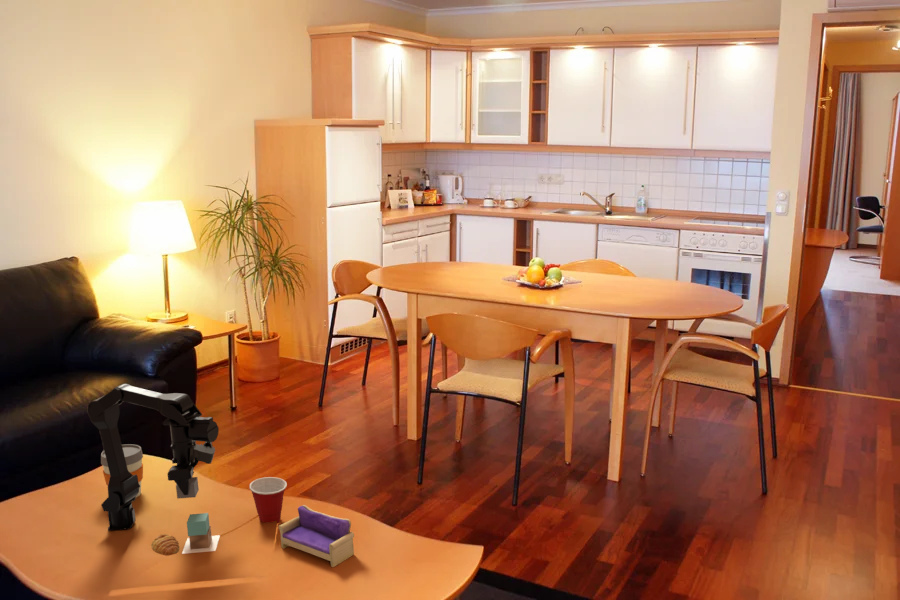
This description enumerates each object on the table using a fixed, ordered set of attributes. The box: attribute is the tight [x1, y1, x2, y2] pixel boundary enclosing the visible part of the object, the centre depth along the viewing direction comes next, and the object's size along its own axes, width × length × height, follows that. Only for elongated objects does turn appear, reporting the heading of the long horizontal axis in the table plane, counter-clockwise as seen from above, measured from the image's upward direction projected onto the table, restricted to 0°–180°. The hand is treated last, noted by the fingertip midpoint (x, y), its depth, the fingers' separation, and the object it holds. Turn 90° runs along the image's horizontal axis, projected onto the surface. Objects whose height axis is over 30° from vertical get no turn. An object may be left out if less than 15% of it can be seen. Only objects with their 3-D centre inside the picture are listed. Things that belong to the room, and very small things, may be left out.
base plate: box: [181, 534, 221, 555], centre depth 232 cm, size 9×9×1 cm
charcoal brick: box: [175, 476, 200, 500], centre depth 238 cm, size 5×5×4 cm
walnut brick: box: [188, 525, 213, 549], centre depth 231 cm, size 5×5×4 cm
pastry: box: [150, 533, 180, 556], centre depth 230 cm, size 9×7×4 cm
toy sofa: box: [278, 504, 355, 568], centre depth 227 cm, size 21×9×10 cm, turn 54°
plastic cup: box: [249, 476, 288, 524], centre depth 246 cm, size 11×11×12 cm
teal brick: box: [186, 512, 211, 537], centre depth 230 cm, size 5×5×4 cm
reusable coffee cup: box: [100, 443, 144, 498], centre depth 267 cm, size 13×13×15 cm
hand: (187, 490), depth 238 cm, fingers closed on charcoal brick, 5 cm apart
